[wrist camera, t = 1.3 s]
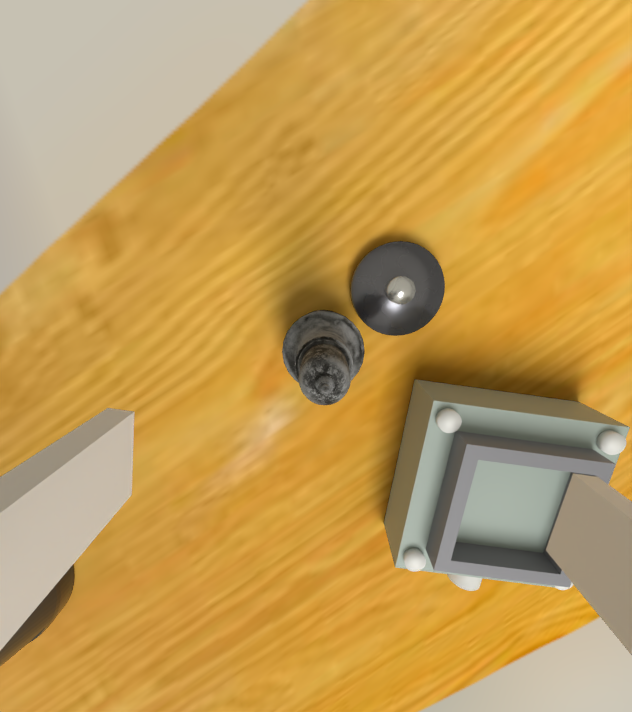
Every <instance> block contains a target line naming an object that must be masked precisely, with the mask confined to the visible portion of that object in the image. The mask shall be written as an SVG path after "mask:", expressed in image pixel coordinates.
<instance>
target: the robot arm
mask: <svg viewBox="0 0 632 712" xmlns="http://www.w3.org/2000/svg"><path fill="white" fill-rule="evenodd" d="M133 438H134V412H132V411H125V410H118V409H111V408H107V409H106V410H104V411H102V412H101V413H99V414H98V415H96V416H95V417H93V418H91V419H90V420H88V421H87V422H85V423H84V424H82V425H81V426H79V427H77V428H76V429H74V430H73V431H71V432H70V433H68V434H67V435H65V436H63V437H62V438H60V439H59V440H57V441H56V442H54V443H53V444H51V445H49V446H48V447H46V448H45V449H43V450H42V451H40V452H39V453H37V454H35V455H34V456H32V457H31V458H29V459H28V460H26V461H25V462H23V463H21V464H20V465H18V466H17V467H15V468H14V469H12V470H10V471H9V472H7V473H6V474H4V475H3V476H1V477H0V666H1V665H3V664H4V663H5V662H6V661H7V660H9V659H10V658H11V657H12V656H13V655H15V654H16V653H17V652H18V651H19V650H21V649H22V648H23V647H24V646H25V645H27V644H28V643H30V642H31V641H33V640H34V639H35V638H37V637H38V636H39V635H41V634H42V633H43V632H44V631H45V630H46V629H47V628H48V627H49V625H50V624H51V623H52V622H53V620H54V619H55V618H56V616H57V615H58V614H59V612H60V611H61V610H62V609H63V607H64V606H65V604H66V603H67V601H68V600H69V598H70V595H71V593H72V589H73V584H74V570H73V564H74V563H75V561H76V560H77V559H78V558H79V557H80V556H81V554H82V553H83V552H84V551H85V550H86V548H87V547H88V546H89V545H90V544H91V542H92V541H93V540H94V539H95V538H96V536H97V535H98V534H99V533H100V532H101V531H102V529H103V528H104V527H105V526H106V525H107V523H108V522H109V521H110V520H111V519H112V517H113V516H114V515H115V514H116V513H117V512H118V510H119V509H120V508H121V507H122V506H123V504H124V503H125V502H126V501H127V500H128V498H129V497H130V496H131V495H132V469H133ZM546 551H547V552H548V554H549V555H550V556H551V557H552V558H553V560H554V561H555V562H556V563H557V565H558V566H559V567H560V568H561V569H562V571H563V572H564V573H565V574H566V576H567V577H568V578H569V579H570V580H571V582H572V583H573V584H574V585H575V587H576V588H577V589H578V590H579V591H580V593H581V594H582V595H583V596H584V598H585V599H586V600H587V601H588V602H589V604H590V605H591V606H592V607H593V609H594V610H595V611H596V612H597V613H598V615H599V616H600V617H601V618H602V620H604V622H605V623H606V624H607V625H608V627H609V628H610V629H611V630H612V631H613V633H614V634H615V635H616V637H617V638H618V639H619V640H620V641H621V643H622V644H623V645H624V646H625V648H626V649H627V650H628V651H629V652H630V654H631V655H632V502H631V501H630V500H629V499H627V498H626V497H625V496H623V495H622V494H620V493H619V492H618V491H616V490H615V489H614V488H612V487H611V486H609V485H608V484H607V483H605V482H604V481H603V480H601V479H600V478H599V477H595V476H588V475H581V474H573V475H572V478H571V481H570V483H569V486H568V489H567V492H566V495H565V498H564V500H563V503H562V506H561V509H560V512H559V514H558V517H557V520H556V523H555V526H554V529H553V531H552V534H551V537H550V540H549V543H548V545H547V548H546Z"/></svg>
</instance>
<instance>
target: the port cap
mask: <svg viewBox="0 0 632 712" xmlns="http://www.w3.org/2000/svg"><path fill="white" fill-rule="evenodd" d="M444 288H445V283H444V276H443V272H442V269H441V267H440V265H439V263H438V261H437V260H436V259H435V257H434V256H433V255H432V254H431V253H430V252H429V251H427V250H426V249H425V248H423V247H421V246H419V245H417V244H414V243H410V242H403V241H399V242H391V243H387V244H384V245H381V246H379V247H377V248H375V249H374V250H372V251H371V252H369V253H368V254H367V255H366V256H365V257H364V258H363V259H362V260H361V261H360V263H359V264H358V266H357V267H356V269H355V271H354V274H353V277H352V281H351V299H352V303H353V306H354V309H355V311H356V313H357V314H358V316H359V317H360V318H361V319H362V321H363V322H364V323H365V324H366V325H368V326H369V327H370V328H372V329H373V330H375V331H377V332H380V333H382V334H386V335H394V336H397V335H405V334H409V333H412V332H415V331H417V330H419V329H420V328H422V327H424V326H425V325H426V324H427V323H428V322H429V321H430V320H431V319H432V318H433V317H434V316H435V314H436V313H437V311H438V310H439V308H440V305H441V303H442V300H443V296H444Z"/></svg>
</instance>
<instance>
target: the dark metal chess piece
mask: <svg viewBox="0 0 632 712" xmlns="http://www.w3.org/2000/svg"><path fill="white" fill-rule="evenodd" d="M282 353H283V359H284V364H285V366H286V368H287V370H288V372H289V373H290V375H291V376H292V377H293V378H294V379H295V380H296V381H297V382H299V385H300V388H301V390H302V392H303V394H304V395H305V396H306V397H307V398H308V399H309V400H310V401H312V402H314V403H316V404H319V405H330V404H333V403H336V402H338V401H339V400H341V399H342V398H343V397H344V396H345V394H346V393H347V391H348V389H349V387H350V382H351V380H352V379H353V378H354V377H355V375H356V374H357V373H358V372H359V370H360V367H361V365H362V363H363V358H364V342H363V339H362V337H361V334H360V332H359V330H358V329H357V328H356V326H355V325H354V324H353V322H351V321H350V320H349V319H347V318H346V317H345V316H343V315H340V314H338V313H335V312H333V311H328V310H318V311H313V312H311V313H308V314H306V315H304V316H302V317H301V318H300V319H298V320H297V321H296V322H295V323H293V325H292V326H291V328H290V329H289V330H288V332H287V334H286V336H285V339H284V342H283V351H282Z"/></svg>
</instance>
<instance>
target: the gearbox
mask: <svg viewBox="0 0 632 712" xmlns="http://www.w3.org/2000/svg"><path fill="white" fill-rule="evenodd" d="M629 428H630V427H628V426H626V425H624V424H622V423H620V422H618V421H616V420H614V419H612V418H610V417H608V416H606V415H604V414H602V413H600V412H598V411H596V410H594V409H592V408H590V407H588V406H586V405H584V404H582V403H580V402H576V401H569V400H562V399H554V398H547V397H540V396H533V395H525V394H518V393H511V392H504V391H496V390H489V389H482V388H475V387H467V386H460V385H453V384H446V383H438V382H431V381H424V380H417V379H415V380H414V385H413V390H412V394H411V399H410V404H409V408H408V413H407V418H406V422H405V427H404V432H403V436H402V441H401V446H400V450H399V455H398V460H397V464H396V469H395V474H394V478H393V483H392V488H391V492H390V497H389V502H388V506H387V511H386V516H385V520H384V526H385V529H386V533H387V537H388V541H389V545H390V549H391V553H392V557H393V561H394V564H395V567H396V568H404V569H408V570H410V571H428V572H436V573H444V574H447V575H448V577H449V579H450V580H451V581H452V582H453V583H454V584H455V585H457V586H458V587H460V588H462V589H465V590H468V591H475V590H477V589H479V587H480V584H481V581H482V578H484V579H492V580H500V581H508V582H516V583H524V584H532V585H540V586H548V587H556V588H557V589H559V590H566V589H569V588H570V587H572V585H573V583H572V582H571V580H570V579H569V578H568V577H567V576H566V574H565V573H564V572H563V571H562V569H561V568H560V567H559V566H558V565H557V563H556V562H555V561H554V560H553V558H552V557H551V556H550V555H549V554H548V552H547V551H546V548H547V545H548V543H549V540H550V537H551V534H552V531H553V529H554V526H555V523H556V520H557V517H558V514H559V512H560V509H561V506H562V503H563V500H564V498H565V495H566V492H567V489H568V486H569V483H570V481H571V478H572V475H573V474H581V475H588V476H595V477H599V478H600V479H601V480H603V481H604V482H605V483H607V484H609V481H610V479H611V476H612V473H613V471H614V468H615V465H616V463H617V460H618V457H619V455H620V452H622V451H623V450H624V448H625V446H626V436H627V433H628V431H629Z"/></svg>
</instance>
